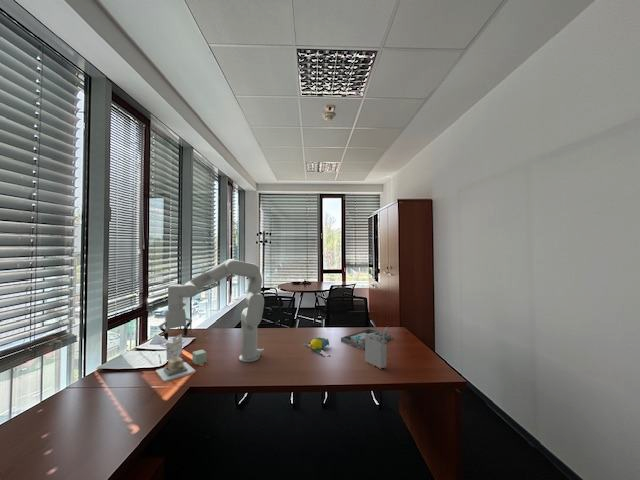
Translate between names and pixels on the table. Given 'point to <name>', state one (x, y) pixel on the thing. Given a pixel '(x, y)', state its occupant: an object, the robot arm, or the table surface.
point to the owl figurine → (318, 344)
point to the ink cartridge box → (174, 347)
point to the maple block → (175, 364)
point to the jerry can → (375, 349)
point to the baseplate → (168, 376)
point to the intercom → (361, 337)
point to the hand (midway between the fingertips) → (176, 337)
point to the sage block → (199, 356)
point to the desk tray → (346, 338)
